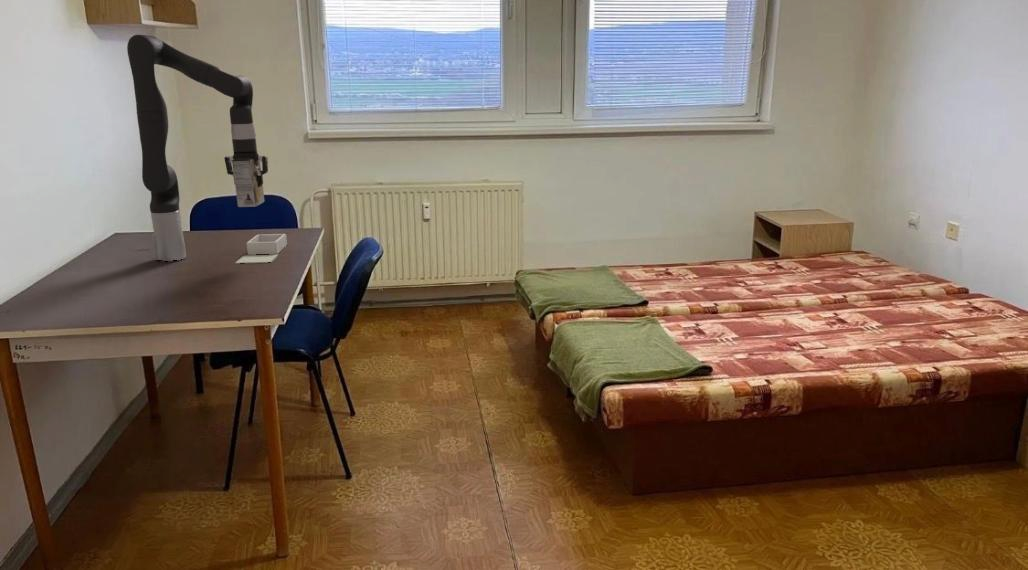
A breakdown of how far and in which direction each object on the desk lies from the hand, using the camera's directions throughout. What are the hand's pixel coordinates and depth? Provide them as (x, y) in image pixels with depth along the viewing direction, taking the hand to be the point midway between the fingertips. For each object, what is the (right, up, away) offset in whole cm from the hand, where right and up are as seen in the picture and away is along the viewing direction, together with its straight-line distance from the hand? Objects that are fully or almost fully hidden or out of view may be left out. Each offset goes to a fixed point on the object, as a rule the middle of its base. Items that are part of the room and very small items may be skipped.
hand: (249, 186), depth 250 cm
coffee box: (0, -6, +2) cm, 7 cm away
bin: (0, -21, +20) cm, 29 cm away
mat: (0, -25, +6) cm, 26 cm away
